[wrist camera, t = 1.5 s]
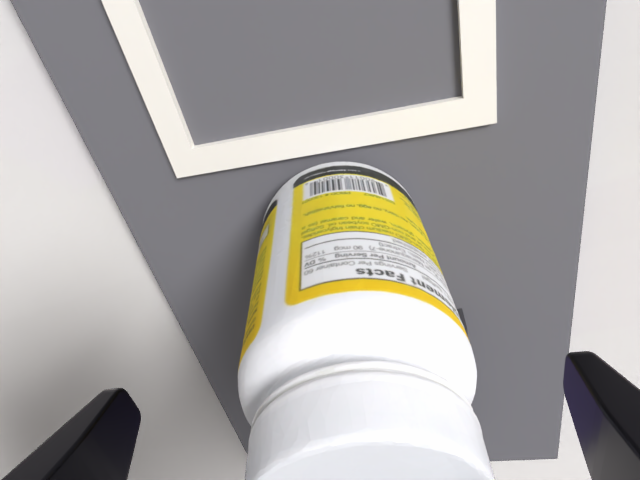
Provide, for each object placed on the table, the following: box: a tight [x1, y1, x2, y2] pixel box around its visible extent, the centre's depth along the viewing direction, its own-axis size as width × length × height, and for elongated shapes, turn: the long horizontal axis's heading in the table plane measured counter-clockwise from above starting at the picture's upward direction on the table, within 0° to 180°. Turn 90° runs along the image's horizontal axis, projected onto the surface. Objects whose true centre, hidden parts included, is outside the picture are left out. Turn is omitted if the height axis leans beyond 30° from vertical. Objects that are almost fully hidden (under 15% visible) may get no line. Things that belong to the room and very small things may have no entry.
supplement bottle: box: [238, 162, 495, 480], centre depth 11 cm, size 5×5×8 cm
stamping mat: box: [11, 0, 607, 461], centre depth 14 cm, size 14×26×2 cm, turn 12°
